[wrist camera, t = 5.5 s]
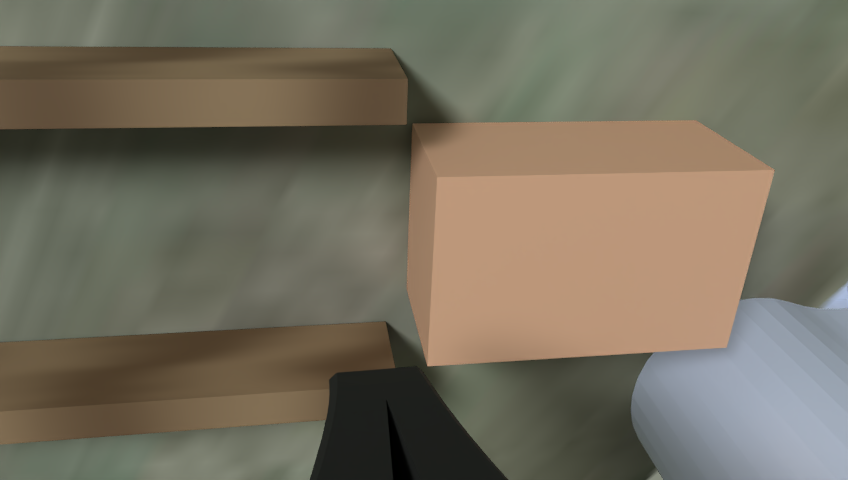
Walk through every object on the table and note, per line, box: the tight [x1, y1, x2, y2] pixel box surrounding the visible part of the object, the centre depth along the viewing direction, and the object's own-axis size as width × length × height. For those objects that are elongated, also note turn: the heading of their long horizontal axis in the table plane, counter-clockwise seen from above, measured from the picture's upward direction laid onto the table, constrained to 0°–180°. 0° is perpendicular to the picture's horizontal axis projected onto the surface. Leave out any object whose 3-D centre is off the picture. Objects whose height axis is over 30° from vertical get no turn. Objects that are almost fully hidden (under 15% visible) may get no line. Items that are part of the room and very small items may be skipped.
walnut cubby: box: [0, 46, 408, 444], centre depth 18 cm, size 15×9×3 cm, turn 88°
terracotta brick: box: [407, 120, 775, 366], centre depth 19 cm, size 8×5×4 cm, turn 88°
